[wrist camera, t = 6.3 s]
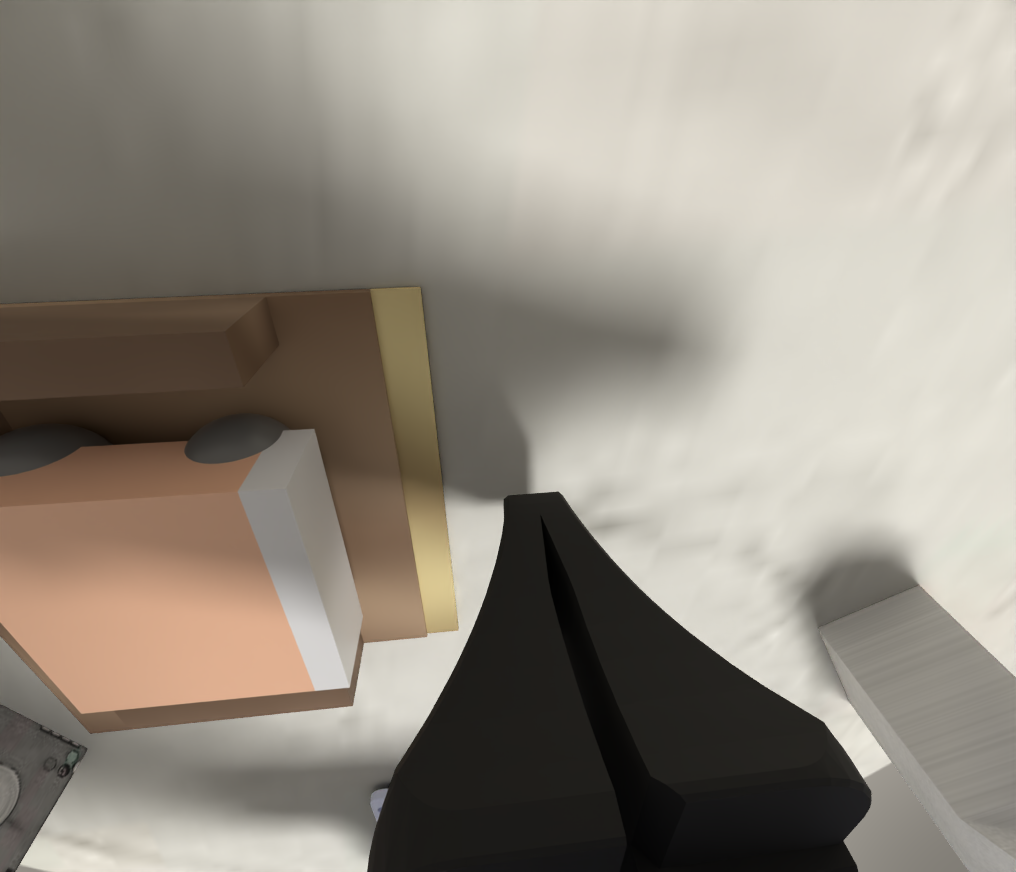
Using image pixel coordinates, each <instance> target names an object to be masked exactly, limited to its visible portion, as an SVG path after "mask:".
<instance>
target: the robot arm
mask: <svg viewBox="0 0 1016 872" xmlns="http://www.w3.org/2000/svg"><path fill="white" fill-rule="evenodd" d="M870 805H871V790H870V789H869V787H868V786H867V784H866V782H865V781H864V779H863V778H862V776H861V775H860V773H859V772H858V770H857V768H856V767H855V765H854V764H853V762H852V760H851V759H850V758H849V756H848V755H847V753H846V752H845V750H844V749H843V747H842V746H841V745H840V743H839V742H838V741H837V740H836V738H835V737H834V736H833V734H832V733H831V732H830V730H829V729H828V728H827V726H826V725H825V723H824V722H823V721H821V720H819V719H818V718H816V717H814V716H813V715H811V714H809V713H808V712H806V711H804V710H803V709H801V708H800V707H798V706H796V705H795V704H793V703H791V702H790V701H788V700H786V699H785V698H783V697H781V696H780V695H778V694H776V693H775V692H773V691H771V690H770V689H768V688H766V687H765V686H763V685H762V684H760V683H759V682H757V681H756V680H754V679H753V678H751V677H750V676H748V675H747V674H745V673H744V672H742V671H741V670H739V669H738V668H736V667H735V666H734V665H732V664H731V663H729V662H728V661H727V660H725V659H724V658H723V657H721V656H720V655H719V654H717V653H716V652H715V651H713V650H712V649H711V648H709V647H708V646H707V645H705V644H704V643H703V642H701V641H700V640H699V639H697V638H696V637H695V636H693V635H692V634H691V633H689V632H688V631H687V630H686V629H685V628H683V627H682V626H681V625H680V624H679V623H678V622H676V621H675V620H674V619H673V618H672V617H670V616H669V615H668V614H667V613H666V612H665V611H664V610H662V609H661V608H660V607H659V606H658V605H657V604H656V603H655V602H654V601H652V600H651V599H650V598H649V597H648V596H647V595H646V594H645V593H644V592H643V591H642V590H641V589H640V588H639V587H638V586H637V585H636V584H635V583H634V582H633V581H632V580H631V579H630V578H629V577H628V576H627V575H626V574H625V573H624V572H623V571H622V570H621V569H620V568H619V566H618V565H617V564H616V563H615V562H614V561H613V560H612V559H611V558H610V556H609V555H608V554H607V553H606V552H605V551H604V549H603V548H602V547H601V546H600V545H599V543H598V542H597V541H596V540H595V539H594V538H593V536H592V535H591V534H590V533H589V531H588V530H587V529H586V527H585V526H584V525H583V524H582V522H581V521H580V520H579V518H578V517H577V516H576V514H575V513H574V511H573V510H572V509H571V507H570V506H569V504H568V503H567V501H566V500H565V498H564V497H563V495H562V494H561V493H559V492H548V493H535V494H523V495H510V496H507V497H506V498H505V499H504V524H503V531H502V537H501V542H500V546H499V551H498V555H497V560H496V563H495V567H494V570H493V574H492V577H491V580H490V583H489V587H488V590H487V593H486V596H485V599H484V601H483V604H482V607H481V609H480V612H479V615H478V617H477V620H476V622H475V625H474V627H473V629H472V632H471V634H470V636H469V638H468V641H467V643H466V645H465V647H464V649H463V652H462V654H461V656H460V658H459V660H458V662H457V664H456V666H455V668H454V670H453V672H452V674H451V676H450V678H449V680H448V682H447V683H446V685H445V687H444V689H443V691H442V693H441V694H440V696H439V698H438V700H437V702H436V704H435V705H434V707H433V709H432V711H431V713H430V714H429V716H428V718H427V719H426V721H425V723H424V724H423V726H422V728H421V729H420V731H419V732H418V734H417V736H416V737H415V739H414V740H413V742H412V744H411V745H410V747H409V748H408V750H407V751H406V753H405V755H404V756H403V758H402V759H401V761H400V763H399V764H398V766H397V767H396V769H395V772H394V775H393V777H392V780H391V783H390V786H389V788H386V789H379V790H376V791H374V792H373V793H372V794H371V801H370V806H371V808H372V811H373V813H374V816H375V819H376V821H377V825H376V828H375V832H374V836H373V841H372V845H371V850H370V855H369V862H368V870H367V872H858V869H857V865H856V863H855V862H854V860H853V858H852V856H851V854H850V852H849V851H848V849H847V847H846V845H845V844H844V842H843V840H844V839H845V838H846V837H847V836H848V835H849V834H850V832H851V831H852V830H853V829H854V828H855V827H856V826H857V825H858V823H859V822H860V821H861V820H862V819H863V818H864V816H865V815H866V813H867V812H868V810H869V808H870Z"/></svg>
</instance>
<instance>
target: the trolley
mask: <svg viewBox="0 0 1016 872" xmlns="http://www.w3.org/2000/svg"><path fill="white" fill-rule="evenodd" d="M362 619H363V615H362V611H361V607H360V603H359V599H358V595H357V592H356V588H355V584H354V580H353V576H352V572H351V568H350V565H349V561H348V557H347V553H346V549H345V545H344V541H343V538H342V534H341V530H340V526H339V522H338V518H337V514H336V511H335V507H334V503H333V499H332V495H331V491H330V487H329V484H328V480H327V476H326V472H325V468H324V464H323V460H322V457H321V453H320V449H319V445H318V441H317V437H316V433H315V430H314V429H302V430H290V429H289V428H288V427H287V426H285V425H284V424H282V423H281V422H279V421H277V420H275V419H272V418H270V417H267V416H263V415H259V414H251V413H241V414H232V415H228V416H224V417H221V418H218V419H216V420H213V421H212V422H210V423H208V424H206V425H205V426H203V427H202V428H201V429H199V430H198V431H197V432H196V433H195V434H194V435H193V436H192V437H191V438H190V440H189V441H177V442H159V443H141V444H124V445H112V444H111V443H110V442H109V441H108V440H106V439H105V438H103V437H102V436H100V435H98V434H96V433H94V432H92V431H90V430H87V429H84V428H81V427H77V426H73V425H67V424H37V425H31V426H27V427H22V428H18V429H16V430H13V431H11V432H8V433H5V434H4V435H2V436H0V623H1V624H2V625H3V626H4V627H5V628H6V629H7V631H8V632H9V633H10V634H11V635H12V636H13V637H14V638H15V640H16V641H17V642H18V643H19V644H20V645H21V646H22V648H23V649H24V650H25V651H26V652H27V653H28V654H29V655H30V657H31V658H32V659H33V660H34V661H35V662H36V663H37V664H38V666H39V667H40V668H41V669H42V670H43V671H44V672H45V673H46V675H47V676H48V677H49V678H50V679H51V680H52V681H53V682H54V684H55V685H56V686H57V687H58V688H59V689H60V690H61V691H62V693H63V694H64V695H65V696H66V697H67V698H68V699H69V700H70V702H71V703H72V704H73V705H74V706H75V707H76V708H77V709H78V711H79V712H80V713H81V714H85V713H95V712H105V711H115V710H125V709H136V708H146V707H156V706H166V705H176V704H187V703H197V702H207V701H217V700H227V699H238V698H248V697H258V696H268V695H279V694H289V693H299V692H309V691H319V690H330V689H340V688H350V684H351V678H352V673H353V667H354V662H355V657H356V651H357V646H358V641H359V635H360V630H361V625H362Z"/></svg>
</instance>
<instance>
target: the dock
mask: <svg viewBox="0 0 1016 872" xmlns="http://www.w3.org/2000/svg"><path fill="white" fill-rule="evenodd" d="M241 413H251V414H259V415H263V416H267V417H270V418H272V419H275V420H277V421H279V422H281V423H282V424H284V425H285V426H287V427H288V428H289V429H290V430H302V429H314V430H315V433H316V437H317V441H318V445H319V449H320V453H321V457H322V460H323V464H324V468H325V472H326V476H327V480H328V484H329V487H330V491H331V495H332V499H333V503H334V507H335V511H336V514H337V518H338V522H339V526H340V530H341V534H342V538H343V541H344V545H345V549H346V553H347V557H348V561H349V565H350V568H351V572H352V576H353V580H354V584H355V588H356V592H357V595H358V599H359V603H360V607H361V611H362V615H363V619H362V625H361V630H360V635H359V641H358V646H357V651H356V657H355V662H354V667H353V673H352V678H351V684H350V688H340V689H330V690H319V691H309V692H299V693H289V694H279V695H268V696H258V697H248V698H238V699H227V700H217V701H207V702H197V703H187V704H176V705H166V706H156V707H146V708H136V709H125V710H115V711H105V712H95V713H85V714H81V713H80V712H79V711H78V709H77V708H76V707H75V706H74V705H73V704H72V703H71V702H70V700H69V699H68V698H67V697H66V696H65V695H64V694H63V693H62V691H61V690H60V689H59V688H58V687H57V686H56V685H55V684H54V682H53V681H52V680H51V679H50V678H49V677H48V676H47V675H46V673H45V672H44V671H43V670H42V669H41V668H40V667H39V666H38V664H37V663H36V662H35V661H34V660H33V659H32V658H31V657H30V655H29V654H28V653H27V652H26V651H25V650H24V649H23V648H22V646H21V645H20V644H19V643H18V642H17V641H16V640H15V638H14V637H13V636H12V635H11V634H10V633H9V632H8V631H7V629H6V628H5V627H4V626H3V625H2V624H1V623H0V636H1V637H2V638H3V639H4V641H5V642H6V643H7V644H8V645H9V646H10V647H11V648H12V649H13V650H14V651H15V652H16V654H17V655H18V656H19V657H20V658H21V659H22V660H23V661H24V662H25V663H26V664H27V665H28V667H29V668H30V669H31V670H32V671H33V672H34V673H35V674H36V675H37V676H38V677H39V678H40V679H41V681H42V682H43V683H44V684H45V685H46V686H47V687H48V688H49V689H50V690H51V691H52V692H53V694H54V695H55V696H56V697H57V698H58V699H59V700H60V701H61V702H62V703H63V704H64V705H65V707H66V708H67V709H68V710H69V711H70V712H71V713H72V714H73V715H74V716H75V717H76V718H77V720H78V721H79V722H80V723H81V724H82V725H83V726H84V727H85V728H86V729H87V730H88V731H89V733H90V734H92V733H101V732H110V731H120V730H129V729H139V728H148V727H158V726H167V725H177V724H186V723H196V722H205V721H215V720H224V719H234V718H243V717H253V716H262V715H272V714H281V713H291V712H300V711H310V710H319V709H329V708H338V707H348V706H353V702H354V696H355V691H356V685H357V679H358V674H359V668H360V662H361V657H362V651H363V645H364V643H368V642H379V641H389V640H400V639H410V638H420V637H427V633H436V632H446V631H457V630H458V620H457V611H456V602H455V593H454V584H453V575H452V566H451V557H450V548H449V539H448V530H447V521H446V512H445V503H444V494H443V485H442V476H441V467H440V458H439V449H438V440H437V431H436V422H435V413H434V404H433V395H432V386H431V377H430V368H429V359H428V350H427V341H426V332H425V323H424V314H423V305H422V296H421V287H404V288H379V289H355V290H331V291H307V292H283V293H259V294H235V295H210V296H186V297H162V298H138V299H114V300H90V301H65V302H41V303H17V304H0V436H2V435H4V434H5V433H8V432H11V431H13V430H16V429H18V428H22V427H27V426H31V425H37V424H67V425H73V426H77V427H81V428H84V429H87V430H90V431H92V432H94V433H96V434H98V435H100V436H102V437H103V438H105V439H106V440H108V441H109V442H110V443H111V444H112V445H124V444H141V443H159V442H177V441H189V440H190V438H191V437H192V436H193V435H194V434H195V433H196V432H197V431H198V430H199V429H201V428H202V427H203V426H205V425H206V424H208V423H210V422H212V421H213V420H216V419H218V418H221V417H224V416H228V415H232V414H241Z"/></svg>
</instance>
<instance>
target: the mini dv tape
mask: <svg viewBox="0 0 1016 872" xmlns="http://www.w3.org/2000/svg"><path fill="white" fill-rule="evenodd" d="M86 752H87V748H85V747H83V746H81V745H79V744H77V743H75V742H73V741H71V740H69V739H67V738H65V737H63V736H61V735H59V734H58V733H56V732H54V731H52V730H50V729H48V728H46V727H44V726H42V725H40V724H38V723H36V722H34V721H32V720H30V719H28V718H26V717H24V716H22V715H20V714H18V713H16V712H14V711H12V710H10V709H8V708H6V707H4V706H2V705H0V872H15V871H16V870H17V868H18V866H19V865H20V863H21V861H22V859H23V858H24V856H25V854H26V853H27V851H28V849H29V848H30V846H31V844H32V843H33V841H34V839H35V838H36V836H37V834H38V833H39V831H40V829H41V827H42V826H43V824H44V822H45V821H46V819H47V817H48V816H49V814H50V812H51V811H52V809H53V807H54V806H55V804H56V802H57V801H58V799H59V797H60V796H61V794H62V792H63V790H64V789H65V787H66V785H67V784H68V782H69V780H70V779H71V777H72V775H73V774H74V772H75V770H76V769H77V767H78V765H79V764H80V762H81V760H82V759H83V757H84V755H85V753H86Z"/></svg>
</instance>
